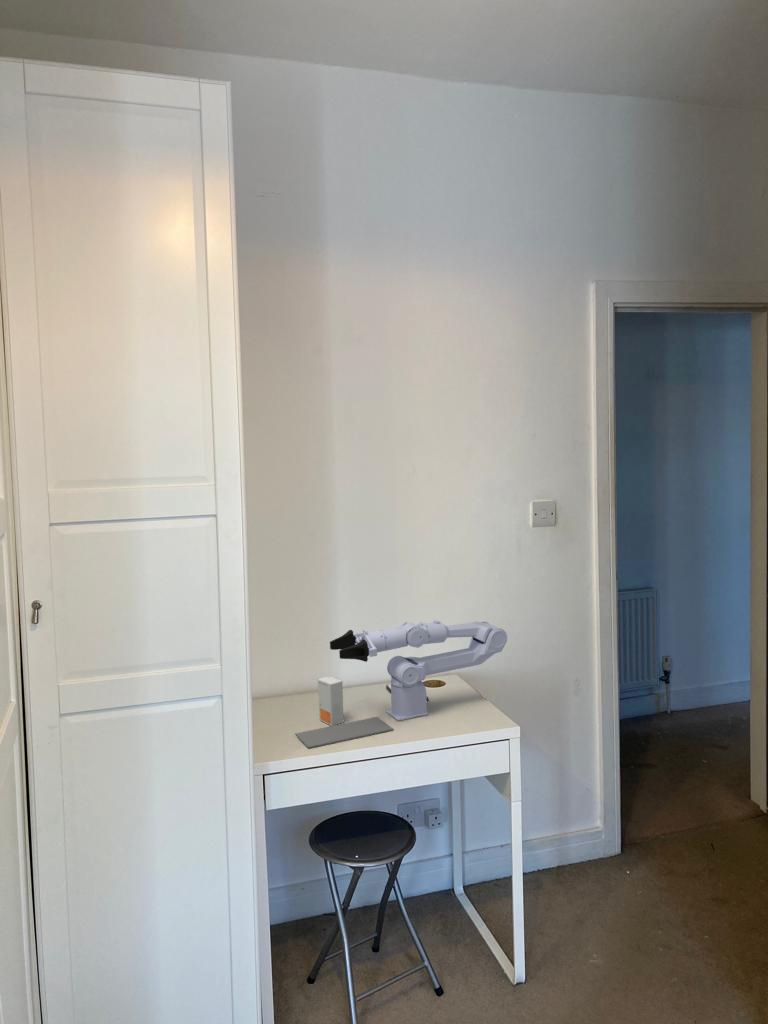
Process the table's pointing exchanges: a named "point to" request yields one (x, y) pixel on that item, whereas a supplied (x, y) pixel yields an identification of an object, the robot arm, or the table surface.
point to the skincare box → (330, 700)
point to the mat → (343, 732)
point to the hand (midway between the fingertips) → (335, 650)
